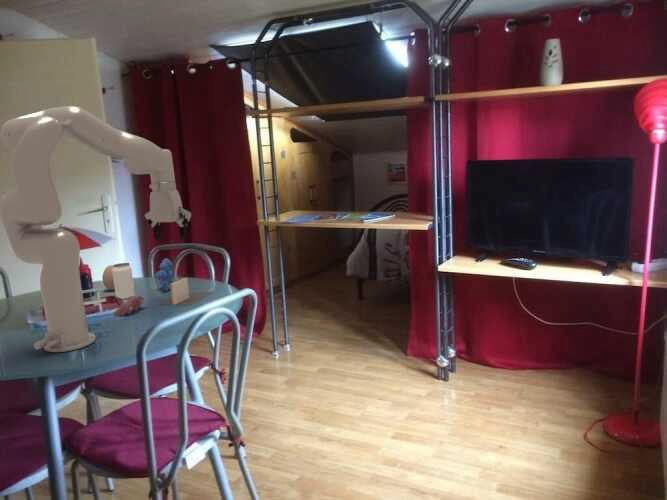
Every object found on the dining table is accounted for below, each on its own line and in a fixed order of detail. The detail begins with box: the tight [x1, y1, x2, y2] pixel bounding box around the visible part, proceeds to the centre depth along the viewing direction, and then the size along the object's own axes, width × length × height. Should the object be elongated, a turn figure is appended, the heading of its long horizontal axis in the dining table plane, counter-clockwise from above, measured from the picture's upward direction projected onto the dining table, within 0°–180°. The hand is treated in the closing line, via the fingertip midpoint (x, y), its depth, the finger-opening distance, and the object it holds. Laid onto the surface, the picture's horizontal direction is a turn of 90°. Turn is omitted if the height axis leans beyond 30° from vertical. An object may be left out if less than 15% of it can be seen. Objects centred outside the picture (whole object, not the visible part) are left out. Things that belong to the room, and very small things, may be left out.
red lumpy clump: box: [113, 294, 144, 317], centre depth 166 cm, size 10×5×7 cm, turn 169°
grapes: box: [154, 257, 175, 292], centre depth 192 cm, size 12×7×12 cm, turn 1°
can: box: [112, 262, 136, 300], centre depth 186 cm, size 6×6×12 cm
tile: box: [169, 277, 190, 306], centre depth 175 cm, size 8×1×7 cm, turn 162°
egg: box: [102, 264, 115, 291], centre depth 198 cm, size 7×7×10 cm
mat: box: [158, 290, 215, 306], centre depth 179 cm, size 16×12×1 cm
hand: (170, 238), depth 175 cm, fingers open, 9 cm apart
